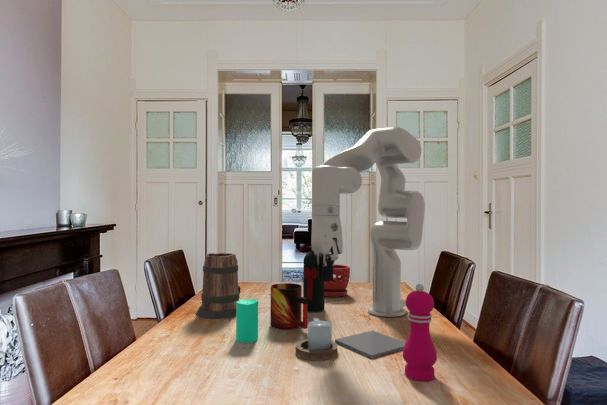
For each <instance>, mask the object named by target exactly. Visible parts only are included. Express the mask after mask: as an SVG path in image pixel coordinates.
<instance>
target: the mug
mask: <svg viewBox="0 0 607 405" xmlns="http://www.w3.org/2000/svg"><path fill="white" fill-rule="evenodd" d="M269 313H270V315H269V316H270V319H269V320H270V323H269V324H270V325H269V326H270V327H271V328H273V329H276V330H281V331H283V330H284V331H285V330H289V331H290V330H296V329H298V328H301V329H304V330H308V312H307V298H304V297H303V285H301V284H298V283H291V282H287V283H286V282H284V283H274V284H271V285H270V312H269Z"/></svg>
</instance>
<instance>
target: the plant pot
mask: <svg viewBox="0 0 607 405" xmlns="http://www.w3.org/2000/svg"><path fill="white" fill-rule="evenodd" d="M350 275H351V267H350V266H349V265H345V264H334V266H333V280H332V281H324V297H325V296H326V297H330V298H334V297H335V298H336V297H337V298H338V297H343V296H346V295H347V294H348V289H347V287H348V285H349V282H350V277H351V276H350ZM334 276H335V277H334Z"/></svg>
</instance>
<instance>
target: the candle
mask: <svg viewBox="0 0 607 405" xmlns="http://www.w3.org/2000/svg"><path fill="white" fill-rule="evenodd" d="M235 335H236V336H235V340H236V341H237V342H239V343H243V344H244V343H248V344H249V343H254V342H256V341H257V340H258V339H259V300H258V299H257V298H248V295H246V299H239V301H236V317H235Z"/></svg>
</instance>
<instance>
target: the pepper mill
mask: <svg viewBox="0 0 607 405" xmlns="http://www.w3.org/2000/svg"><path fill="white" fill-rule="evenodd" d="M424 289H425V286H424V285H423V284H422V283H418V284H416V285H415V290H413V291H411V292H410V293H409V294H407V296H406V299H405V300H406V305H405V307H406V308H407V309H408V311H409V312H407V315H408V317H407V319H408V321H409V333H408V336H407V339H406V340H405V342H406V343H405V345H404V348H403V350H402V358H403V360H404V361H405V365H404V375H405V377H407V379H408V378H409V379H411V380H412V381H413V380H414V381H417V382H429V381H432V380H434V378H435V368H434V365H435V364H436V363H437V361H438V360H437V359H438V357H437V356H438V353H437V350H436V347H435V344H434V342H433V340H432V336H431V333H430V324H431V323H432V313H431V312H432V311H433V310H434V308H435V301H434V297H433V296H432V294H430V293H429V292H426V291H424Z"/></svg>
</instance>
